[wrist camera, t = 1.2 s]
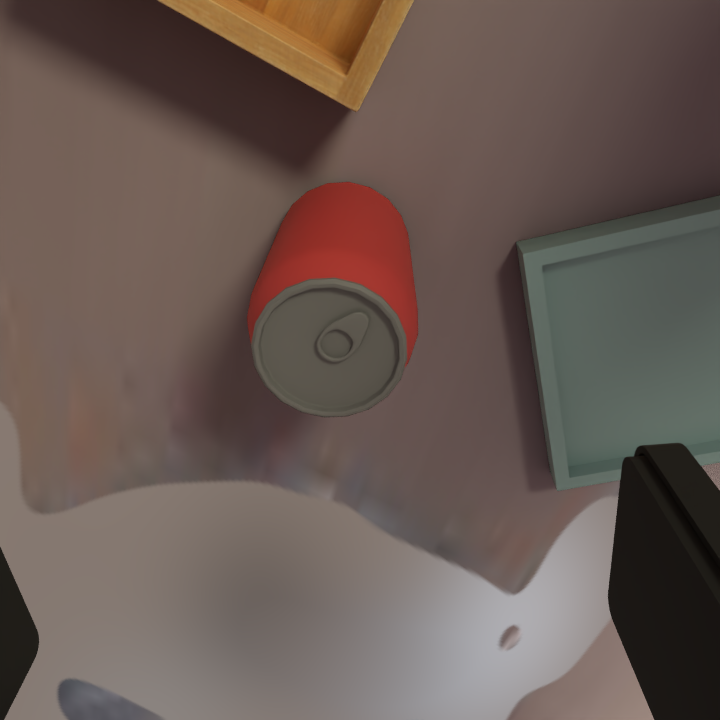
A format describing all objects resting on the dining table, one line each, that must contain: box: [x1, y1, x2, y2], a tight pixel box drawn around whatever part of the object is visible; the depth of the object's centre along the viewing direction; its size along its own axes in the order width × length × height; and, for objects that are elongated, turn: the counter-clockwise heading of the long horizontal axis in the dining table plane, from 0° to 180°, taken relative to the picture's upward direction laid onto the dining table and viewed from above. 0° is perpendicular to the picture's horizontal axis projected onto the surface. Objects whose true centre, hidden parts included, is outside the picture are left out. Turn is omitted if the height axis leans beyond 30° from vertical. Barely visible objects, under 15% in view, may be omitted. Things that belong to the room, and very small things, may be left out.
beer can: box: [247, 182, 418, 417], centre depth 29 cm, size 7×7×12 cm
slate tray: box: [516, 195, 720, 491], centre depth 36 cm, size 15×15×2 cm
